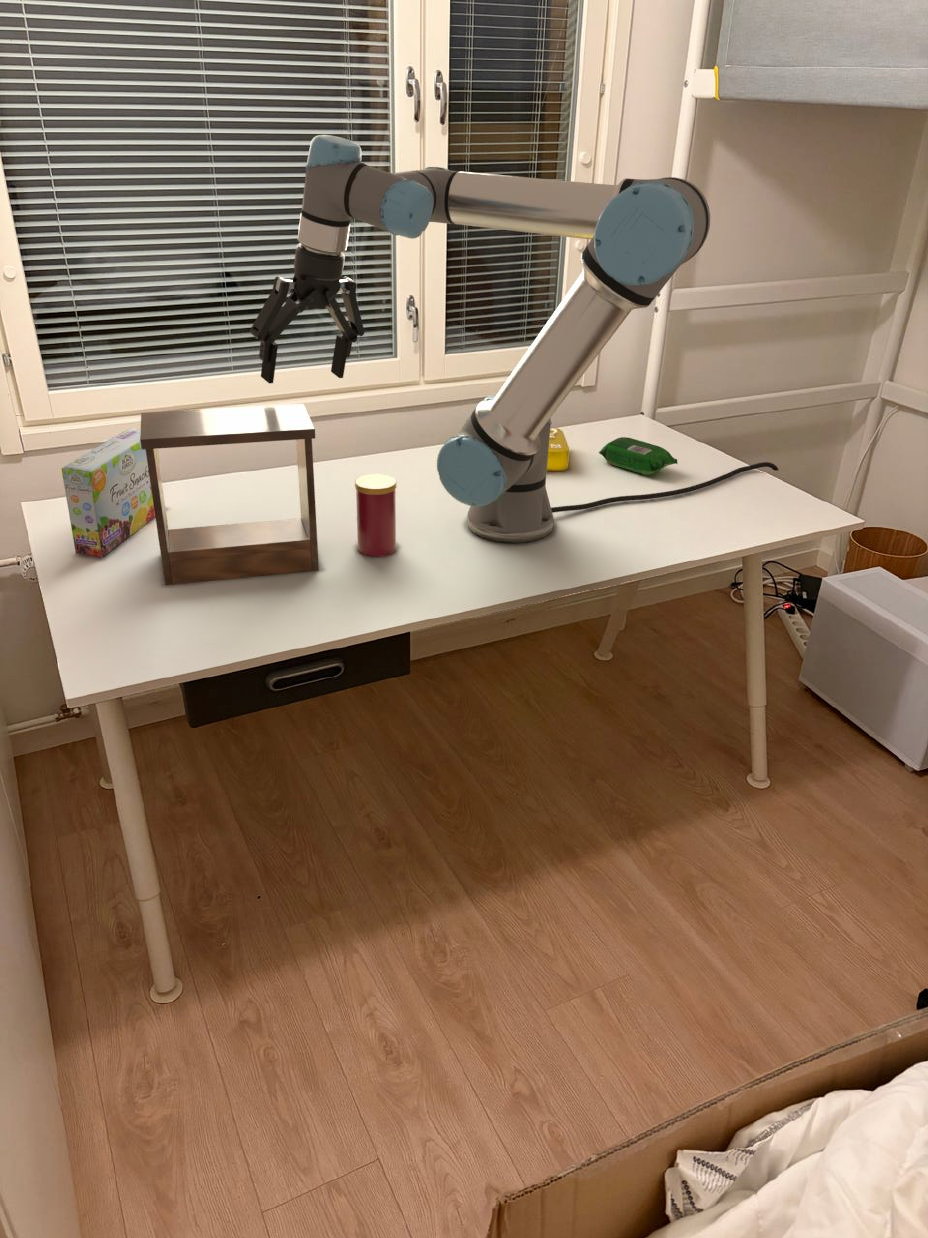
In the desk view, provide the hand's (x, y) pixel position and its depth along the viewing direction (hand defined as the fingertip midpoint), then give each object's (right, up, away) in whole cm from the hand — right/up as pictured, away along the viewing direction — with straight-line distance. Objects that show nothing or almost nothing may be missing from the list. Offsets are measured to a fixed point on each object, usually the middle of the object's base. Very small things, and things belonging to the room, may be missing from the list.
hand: (302, 377), depth 156 cm
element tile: (+41, -6, +42) cm, 59 cm away
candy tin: (+12, -28, +2) cm, 31 cm away
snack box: (-32, -25, +5) cm, 41 cm away
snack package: (+63, -9, +39) cm, 74 cm away
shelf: (-9, -31, -4) cm, 32 cm away
